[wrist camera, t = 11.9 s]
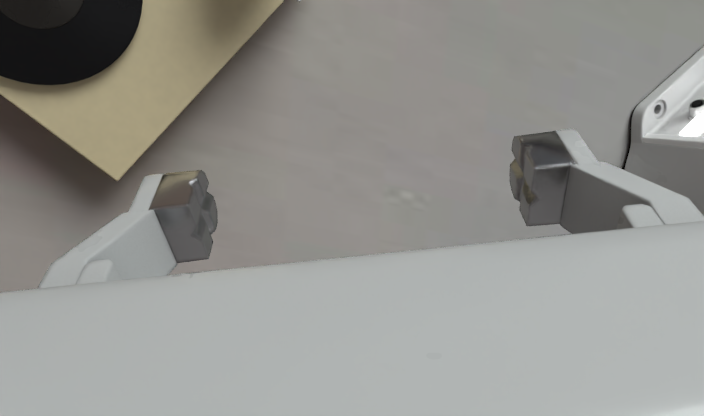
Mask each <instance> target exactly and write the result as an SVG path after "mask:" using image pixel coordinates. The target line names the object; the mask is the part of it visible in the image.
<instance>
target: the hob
mask: <svg viewBox="0 0 704 416" xmlns="http://www.w3.org/2000/svg"><path fill="white" fill-rule="evenodd" d="M297 1H298V2H300V1H301V0H297ZM283 2H284V0H143V4H142V13H141V18H140V22H139V25H138V28H137V31H136V33H135V35H134V38H133V39H132V41H131V43H130V44H129V46H128V48H127V49H126V50H125V51H124V53H123V54H122V55H121V56H120V57H119V58H118V59H117V60H116V61H115V62H114V63H113V64H112V65H110V66H109V67H107V68H106V69H104V70H103V71H102V72H100V73H98V74H96V75H94V76H92V77H90V78H87V79H84V80H81V81H78V82H73V83H68V84H61V85H35V84H29V83H22V82H18V81H15V80H11V79H7V78H5V77H2V76H0V95H2V96H3V97H4V98H6V99H7V100H8V101H10V102H11V103H12V104H14V105H15V106H16V107H18V108H19V109H20V110H22V111H23V112H24V113H26V114H27V115H28V116H30V117H31V118H32V119H34V120H35V121H36V122H38V123H39V124H41V125H42V126H43V127H45V128H46V129H47V130H49V131H50V132H51V133H53V134H54V135H55V136H57V137H58V138H59V139H61V140H62V141H63V142H65V143H66V144H67V145H69V146H70V147H71V148H73V149H74V150H75V151H77V152H78V153H79V154H81V155H82V156H83V157H85V158H86V159H88V160H89V161H90V162H92V163H93V164H94V165H96V166H97V167H98V168H100V169H101V170H102V171H104V172H105V173H106V174H108V175H109V176H110V177H112V178H113V179H114V180H116V181H118V180H120V178H121V177H122V176H123V175H124V174H125V173H126V172H127V171H128V170H129V169H130V168H131V167H132V165H133V164H134V163H135V162H136V161H137V160H138V159H139V158H140V157H141V156H142V155H143V154H144V152H145V151H146V150H147V149H148V148H149V147H150V146H151V145H152V144H153V143H154V142H155V140H156V139H157V138H158V137H159V136H160V135H161V134H162V133H163V132H164V131H165V130H166V129H167V127H168V126H169V125H170V124H171V123H172V122H173V121H174V120H175V119H176V118H177V117H178V116H179V114H180V113H181V112H182V111H183V110H184V109H185V108H186V107H187V106H188V105H189V104H190V103H191V101H192V100H193V99H194V98H195V97H196V96H197V95H198V94H199V93H200V92H201V91H202V89H203V88H204V87H205V86H206V85H207V84H208V83H209V82H210V81H211V80H212V79H213V78H214V76H215V75H216V74H217V73H218V72H219V71H220V70H221V69H222V68H223V67H224V66H225V65H226V63H227V62H228V61H229V60H230V59H231V58H232V57H233V56H234V55H235V54H236V53H237V51H238V50H239V49H240V48H241V47H242V46H243V45H244V44H245V43H246V42H247V41H248V40H249V38H250V37H251V36H252V35H253V34H254V33H255V32H256V31H257V30H258V29H259V28H260V27H261V25H262V24H263V23H264V22H265V21H266V20H267V19H268V18H269V17H270V16H271V15H272V14H273V12H274V11H275V10H276V9H277V8H278V7H279V6H280V5H281V4H282V3H283Z"/></svg>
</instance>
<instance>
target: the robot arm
mask: <svg viewBox="0 0 704 416" xmlns="http://www.w3.org/2000/svg"><path fill="white" fill-rule="evenodd" d="M512 152H513V155H514V157H515V159H514V161H513V162H512V163H511V164H510V186H511V190H512V193H513V196H514V198H515V199H516V200H518V201H519V202H520V209H519V210H520V212H521V214H522V217H523V219H524V221H525V223H526V226H537V225H550V224H560V225H561V226H562V227H563V228H565V229H566V230H568V231H569V232H570V233H572V234H568V235H558V236H548V237H538V238H528V239H519V240H509V241H499V242H489V243H479V244H470V245H460V246H450V247H440V248H430V249H421V250H411V251H401V252H391V253H381V254H372V255H362V256H352V257H342V258H332V259H322V260H313V261H303V262H293V263H283V264H273V265H264V266H254V267H244V268H234V269H224V270H214V271H205V272H195V273H185V274H175V275H168V274H169V273H170V272H171V271H172V270H173V269H174V268H175V267H176V266H177V263H181V262H189V261H197V260H204V259H209V256H210V252H211V248H212V244H213V240H212V237H211V234H212V233H213V232H214V231H215V230H216V227H217V223H218V219H217V207H216V203H215V200H214V197H213V196H212V195H211V194H209V193H208V192H207V188H208V184H209V182H208V180H207V177H206V175H205V173H204V172H203V171H202V170H197V171H186V172H175V173H166V174H164V173H163V174H154V175H147V176H145V177H144V178H143V180H142V182H141V184H140V187H139V189H138V191H137V193H136V195H135V198H134V200H133V202H132V204H131V206H130V209H129V211H128V213H122V214H120V215H119V216H118V217H116V218H115V219H113V220H112V221H110V222H109V223H108V224H106V225H105V226H103V227H102V228H101V229H99V230H98V231H96V232H95V233H94V234H92V235H91V236H89V237H88V238H87V239H85V240H84V241H82V242H81V243H79V244H78V245H77V246H75V247H74V248H72V249H71V250H70V251H68V252H67V253H65V254H64V255H63V256H61V257H60V258H58V259H57V260H56V261H54V262H53V263H51V265H50V266H49V268H48V270H47V272H46V273H45V275H44V277H43V279H42V281H41V282H40V284H39V286H38V288H37V289H28V290H18V291H8V292H0V416H704V46H703V47H702V48H701V49H700V50H699V51H698V52H697V53H695V54H694V55H693V56H692V57H691V58H690V59H689V60H688V61H686V62H685V63H684V64H683V65H682V66H681V67H680V68H679V69H677V70H676V71H675V72H674V73H673V74H672V75H671V76H670V77H668V78H667V79H666V80H665V81H664V82H663V83H662V84H661V85H660V86H658V87H657V88H656V89H655V90H654V91H653V92H652V93H651V94H649V95H648V96H647V97H646V98H645V99H644V100H643V101H642V102H640V103H639V104H638V105H637V107H636V108H635V110H634V112H633V115H632V122H631V146H630V150H629V154H628V158H627V161H626V164H625V168H624V170H623V169H620V168H618V167H616V166H614V165H611V164H609V163H607V162H598V161H597V159H596V158H595V156H594V155H593V153H592V152H591V151H590V149H589V148H588V146H587V145H586V143H585V142H584V141H583V139H582V138H581V136H580V135H579V133H578V132H577V131H576V130H575V129H573V128H571V129H564V130H557V131H552V132H544V133H536V134H529V135H521V136H514V138H513V141H512Z"/></svg>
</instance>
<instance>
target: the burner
mask: <svg viewBox="0 0 704 416" xmlns="http://www.w3.org/2000/svg"><path fill="white" fill-rule="evenodd" d="M142 4H143V0H0V76H2V77H5V78H7V79H11V80H15V81H18V82H22V83H29V84H35V85H61V84H68V83H73V82H78V81H81V80H84V79H87V78H90V77H92V76H94V75H96V74H98V73H100V72H102V71H103V70H104V69H106V68H107V67H109V66H110V65H112V64H113V63H114V62H115V61H116V60H117V59H118V58H119V57H120V56H121V55H122V54H123V53H124V51H125V50H126V49H127V48H128V46H129V44H130V43H131V41H132V39H133V38H134V35H135V33H136V31H137V28H138V25H139V22H140V18H141V13H142Z"/></svg>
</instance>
